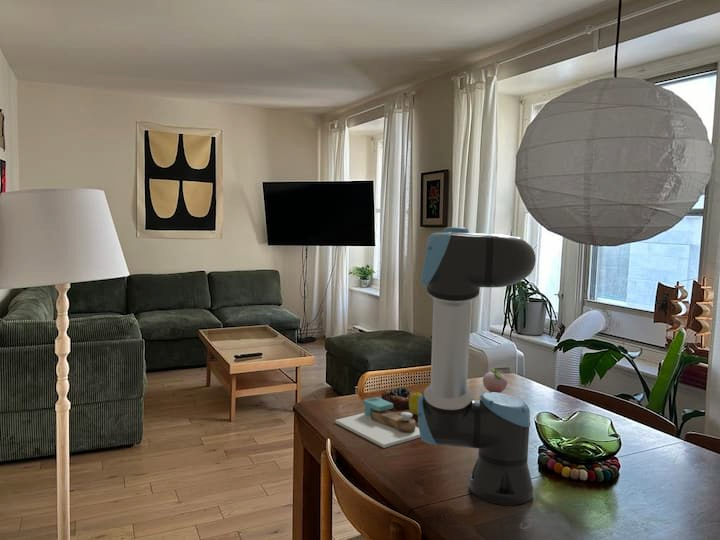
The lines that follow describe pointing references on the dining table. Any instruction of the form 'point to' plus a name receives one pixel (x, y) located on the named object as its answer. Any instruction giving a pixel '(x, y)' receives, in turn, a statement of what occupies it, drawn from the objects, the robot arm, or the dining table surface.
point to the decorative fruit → (494, 381)
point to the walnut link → (393, 420)
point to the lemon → (414, 402)
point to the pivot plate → (378, 429)
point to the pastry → (398, 398)
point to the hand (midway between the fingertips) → (450, 354)
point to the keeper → (376, 405)
